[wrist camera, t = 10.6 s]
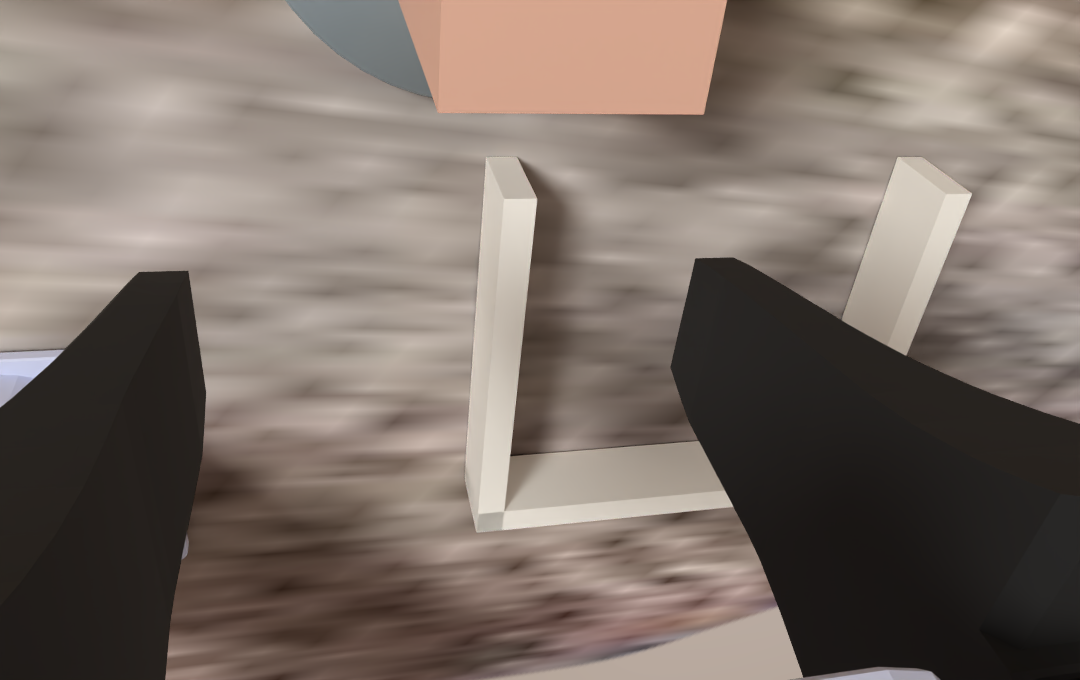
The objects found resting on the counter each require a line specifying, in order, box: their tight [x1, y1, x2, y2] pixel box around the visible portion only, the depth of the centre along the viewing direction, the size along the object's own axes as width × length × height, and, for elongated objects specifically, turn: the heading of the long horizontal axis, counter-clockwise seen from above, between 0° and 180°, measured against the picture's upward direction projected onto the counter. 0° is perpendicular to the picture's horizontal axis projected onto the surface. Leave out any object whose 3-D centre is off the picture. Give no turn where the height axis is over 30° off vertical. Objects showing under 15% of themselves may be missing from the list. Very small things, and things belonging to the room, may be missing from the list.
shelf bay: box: [464, 157, 972, 533], centre depth 27 cm, size 13×11×2 cm
